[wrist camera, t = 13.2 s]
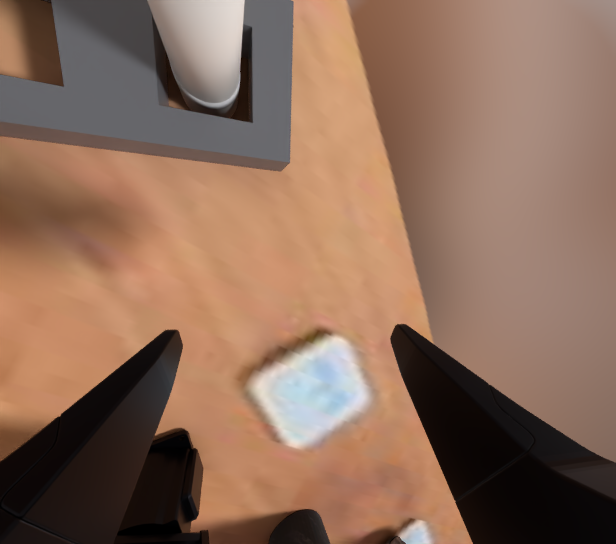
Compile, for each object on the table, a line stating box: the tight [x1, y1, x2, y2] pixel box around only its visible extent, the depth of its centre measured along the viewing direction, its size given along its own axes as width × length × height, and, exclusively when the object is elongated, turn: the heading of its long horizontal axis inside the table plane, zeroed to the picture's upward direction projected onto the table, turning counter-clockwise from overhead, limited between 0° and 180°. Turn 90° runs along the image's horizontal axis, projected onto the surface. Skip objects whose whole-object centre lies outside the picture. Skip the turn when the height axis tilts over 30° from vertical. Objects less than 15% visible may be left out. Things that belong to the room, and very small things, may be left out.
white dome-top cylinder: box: [147, 0, 245, 118], centre depth 11 cm, size 4×4×12 cm
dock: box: [0, 0, 293, 171], centre depth 13 cm, size 21×10×4 cm, turn 88°
